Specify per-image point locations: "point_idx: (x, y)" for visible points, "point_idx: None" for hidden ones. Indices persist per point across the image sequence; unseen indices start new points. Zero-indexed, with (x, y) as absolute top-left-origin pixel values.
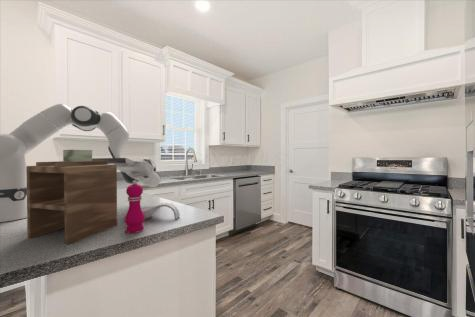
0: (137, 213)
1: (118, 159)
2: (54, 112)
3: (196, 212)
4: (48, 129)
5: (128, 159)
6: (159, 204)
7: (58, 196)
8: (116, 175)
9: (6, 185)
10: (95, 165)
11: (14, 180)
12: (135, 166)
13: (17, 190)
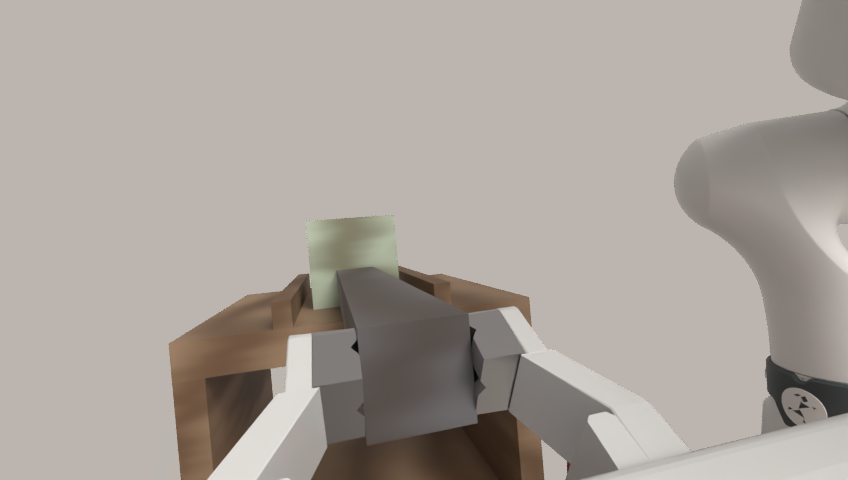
0: None
1: (348, 320)
2: None
3: None
4: (839, 28)
5: (287, 377)
6: None
7: (466, 429)
8: (177, 433)
9: (771, 344)
10: (241, 312)
11: (784, 330)
12: None
13: (792, 381)
